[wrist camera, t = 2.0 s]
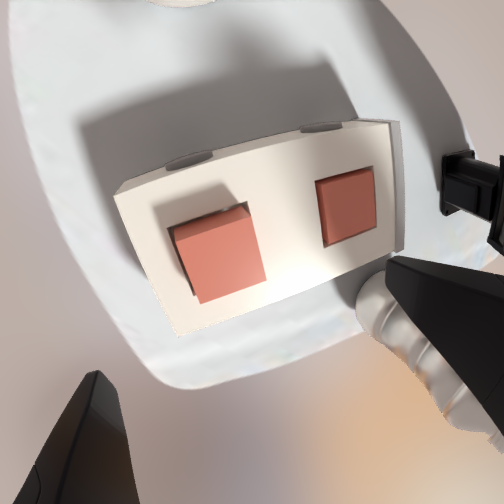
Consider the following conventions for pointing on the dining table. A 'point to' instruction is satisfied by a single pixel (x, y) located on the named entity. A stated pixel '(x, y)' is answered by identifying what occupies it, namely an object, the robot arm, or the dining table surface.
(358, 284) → the dining table surface
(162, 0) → the milk bottle
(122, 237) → the dining table surface
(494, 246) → the robot arm
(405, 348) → the plastic bottle
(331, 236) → the inner button
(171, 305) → the switch panel
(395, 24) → the dining table surface
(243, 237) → the outer button
